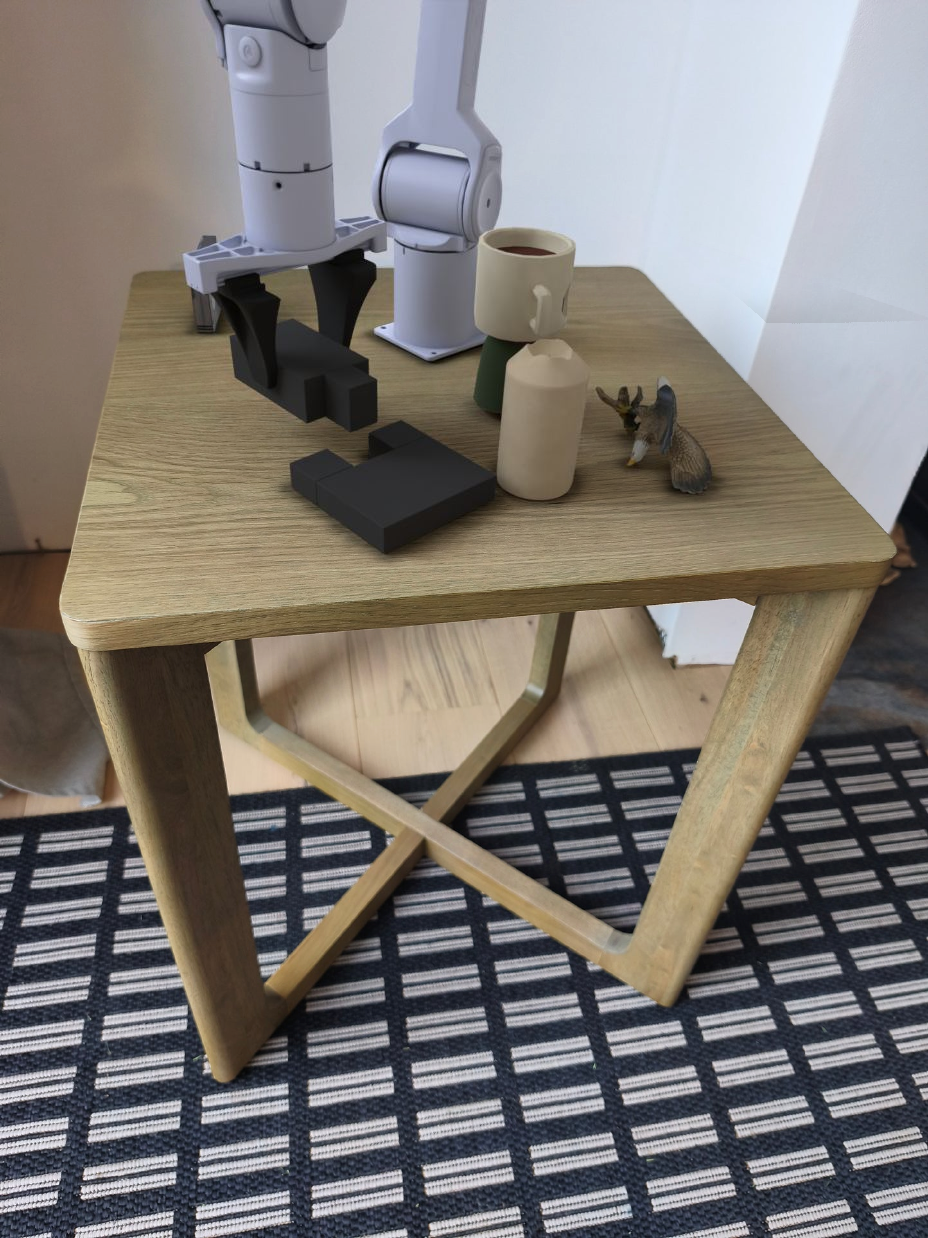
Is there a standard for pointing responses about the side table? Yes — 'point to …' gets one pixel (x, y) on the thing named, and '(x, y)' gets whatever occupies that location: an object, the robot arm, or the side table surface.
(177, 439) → the side table surface
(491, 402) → the character mug
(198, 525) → the side table surface
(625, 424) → the eagle figurine
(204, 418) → the side table surface
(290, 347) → the black t-shaped block
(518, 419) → the beige bottle vase
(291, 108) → the robot arm
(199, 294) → the mini dv tape
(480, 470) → the base pad
